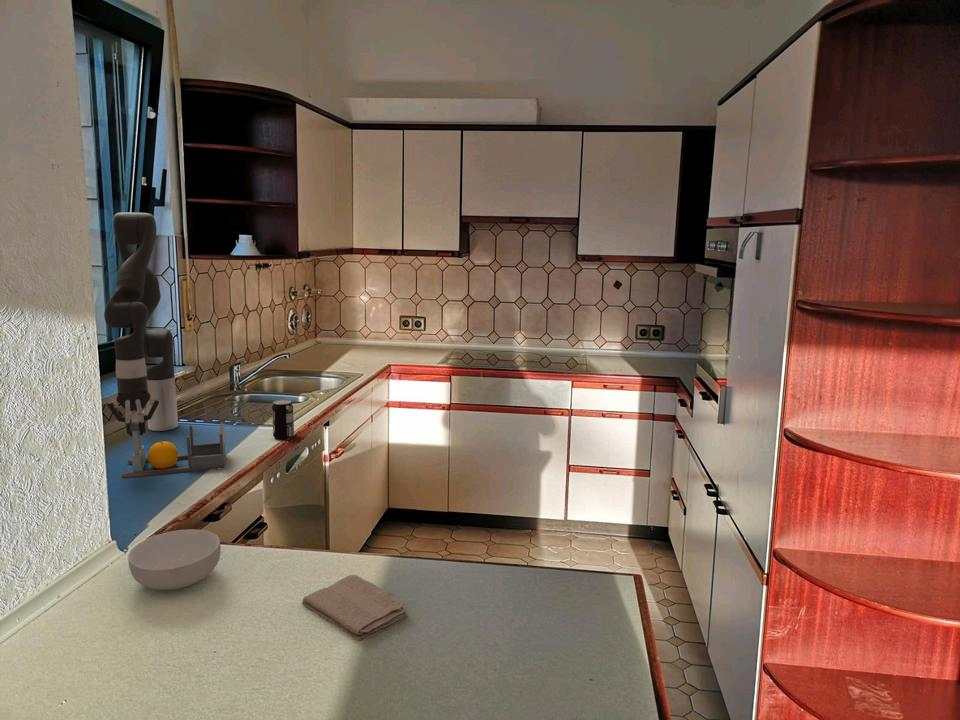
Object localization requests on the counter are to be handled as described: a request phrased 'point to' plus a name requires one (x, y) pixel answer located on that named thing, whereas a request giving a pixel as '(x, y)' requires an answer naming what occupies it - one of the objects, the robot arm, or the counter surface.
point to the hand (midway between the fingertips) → (136, 434)
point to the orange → (162, 455)
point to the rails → (154, 472)
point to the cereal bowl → (174, 559)
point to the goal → (206, 453)
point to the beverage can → (283, 419)
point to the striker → (137, 447)
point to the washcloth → (356, 607)
